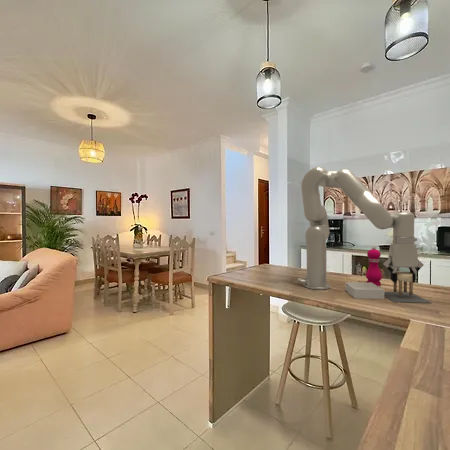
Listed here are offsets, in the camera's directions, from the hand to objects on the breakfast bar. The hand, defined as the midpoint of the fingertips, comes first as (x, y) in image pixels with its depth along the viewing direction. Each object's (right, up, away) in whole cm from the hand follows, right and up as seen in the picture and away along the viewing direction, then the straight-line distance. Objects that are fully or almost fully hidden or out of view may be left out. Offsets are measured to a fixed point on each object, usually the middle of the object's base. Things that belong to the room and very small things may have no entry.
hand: (402, 281), depth 111 cm
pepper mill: (0, -7, +21) cm, 22 cm away
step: (-14, -7, +5) cm, 17 cm away
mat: (0, -7, 0) cm, 7 cm away
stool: (0, -5, 0) cm, 5 cm away
